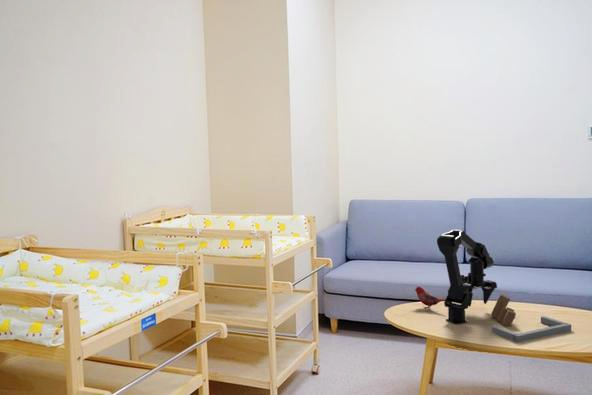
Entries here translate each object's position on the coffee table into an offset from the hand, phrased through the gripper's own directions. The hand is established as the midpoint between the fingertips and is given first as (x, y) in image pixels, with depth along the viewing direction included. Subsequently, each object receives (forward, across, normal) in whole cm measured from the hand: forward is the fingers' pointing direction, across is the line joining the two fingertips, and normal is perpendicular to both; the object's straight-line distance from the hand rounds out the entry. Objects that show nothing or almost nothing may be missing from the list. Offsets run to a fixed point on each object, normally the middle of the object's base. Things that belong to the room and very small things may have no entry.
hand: (477, 305), depth 235 cm
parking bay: (+4, 0, +30) cm, 30 cm away
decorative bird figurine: (+4, +15, -14) cm, 21 cm away
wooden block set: (+4, -2, +14) cm, 14 cm away
